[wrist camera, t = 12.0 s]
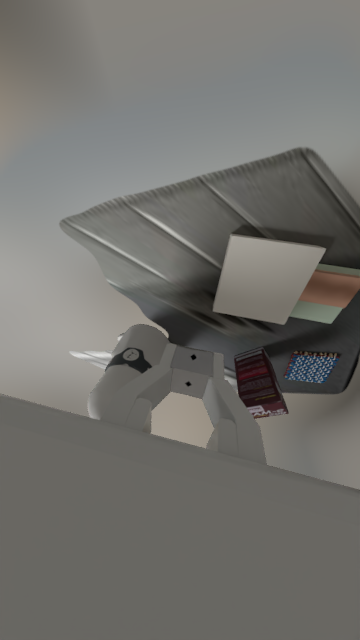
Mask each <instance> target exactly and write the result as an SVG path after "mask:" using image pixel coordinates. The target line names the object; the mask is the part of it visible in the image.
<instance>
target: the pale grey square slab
mask: <svg viewBox="0 0 360 640" xmlns="http://www.w3.org/2000/svg"><path fill="white" fill-rule="evenodd" d="M325 251H326V248H323V247H320V246H317V245H310V244H303V243H296V242H288V241H281V240H274V239H267V238H259V237H252V236H245V235H238V234H230V238H229V242H228V246H227V250H226V254H225V259H224V263H223V267H222V271H221V275H220V279H219V283H218V287H217V291H216V295H215V300H214V304H213V312H218V313H224V314H229V315H235V316H240V317H245V318H251V319H256V320H262V321H267V322H272V323H278V324H283V325H284V324H285V323H286V321H287V319H288V317H289V315H290V314H291V312H292V310H293V308H294V306H295V305H296V303H297V301H298V299H299V297H300V296H301V294H302V292H303V290H304V288H305V287H306V285H307V283H308V281H309V280H310V278H311V276H312V274H313V272H314V271H315V269H316V267H317V265H318V263H319V262H320V260H321V258H322V256H323V254H324V253H325Z"/></svg>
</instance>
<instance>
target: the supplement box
mask: <svg viewBox="0 0 360 640" xmlns="http://www.w3.org/2000/svg"><path fill="white" fill-rule="evenodd" d="M234 362H235V370H236V378H237V386H238V394H239V398H240V399H241V401H242V402H243V403H244V405H245V406H246V408H247V409H248V410H249V412H250V413H251V415H252V416H253V418H254V419H255V418H261V417H268V416H274V415H281V414H288V409H287V407H286V404H285V401H284V398H283V395H282V392H281V389H280V387H279V384H278V381H277V378H276V375H275V372H274V369H273V367H272V364H271V361H270V358H269V356H268V355H267V353H266V352H265V350H264V348H263V347H261V348H258V349H255V350H252V351H249V352H246V353H243V354H240V355H237V356H234Z"/></svg>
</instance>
